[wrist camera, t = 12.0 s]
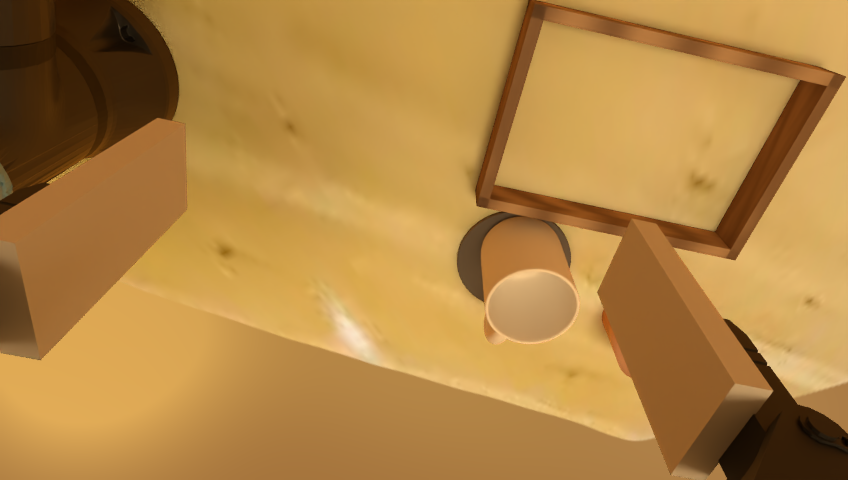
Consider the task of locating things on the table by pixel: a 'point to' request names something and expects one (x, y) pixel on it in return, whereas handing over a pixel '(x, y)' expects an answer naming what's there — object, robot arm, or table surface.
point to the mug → (526, 283)
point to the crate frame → (724, 242)
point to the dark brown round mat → (473, 243)
